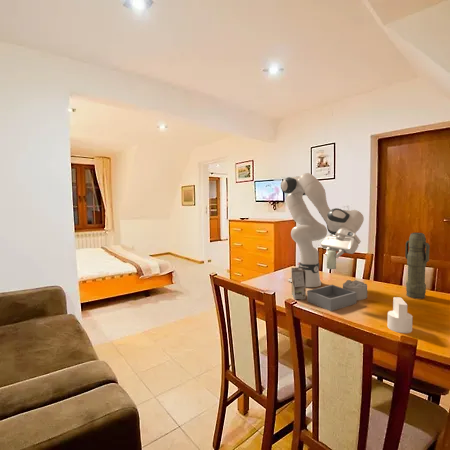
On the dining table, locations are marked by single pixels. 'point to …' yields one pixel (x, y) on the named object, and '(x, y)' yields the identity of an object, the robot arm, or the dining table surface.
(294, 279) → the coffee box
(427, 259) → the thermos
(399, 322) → the base with upright slab
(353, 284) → the lumpy-topped squat cylinder
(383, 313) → the dining table surface
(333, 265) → the tin
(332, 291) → the tote
